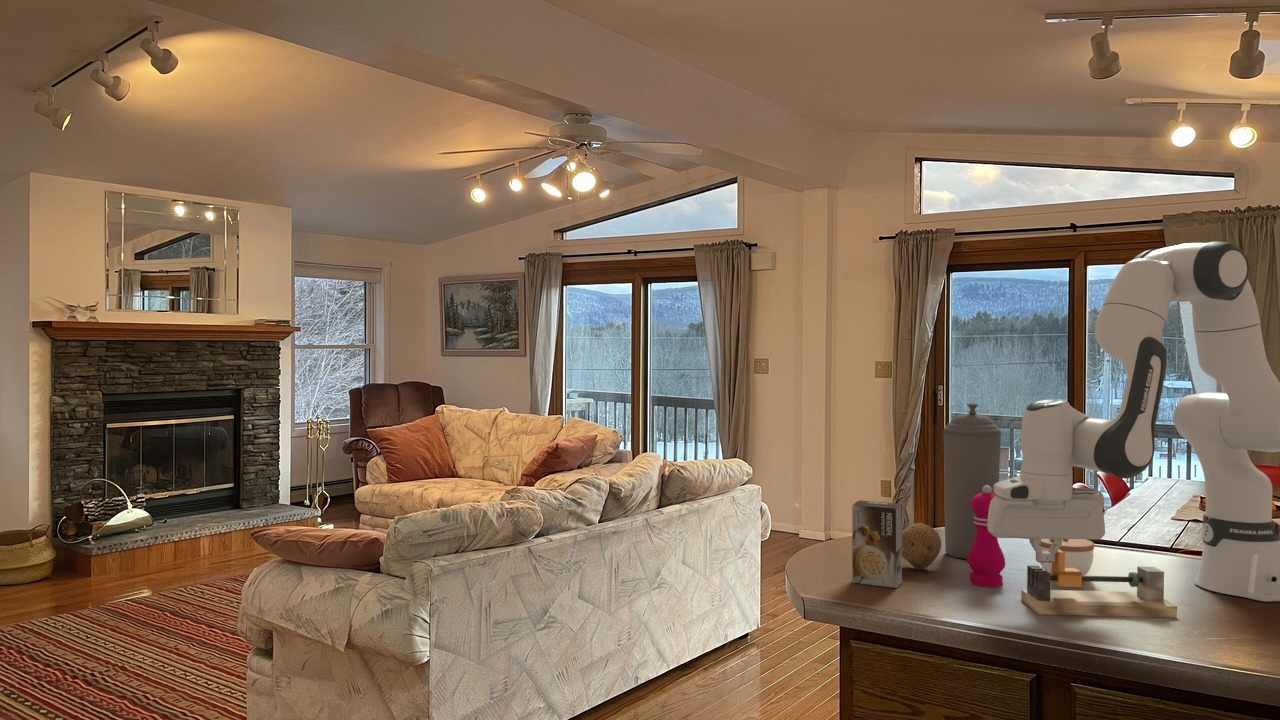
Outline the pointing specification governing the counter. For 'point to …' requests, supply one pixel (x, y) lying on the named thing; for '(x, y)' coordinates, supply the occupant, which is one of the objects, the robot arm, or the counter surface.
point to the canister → (967, 474)
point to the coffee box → (877, 543)
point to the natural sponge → (920, 545)
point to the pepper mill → (985, 545)
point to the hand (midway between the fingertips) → (1045, 562)
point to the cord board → (1100, 595)
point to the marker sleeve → (1065, 572)
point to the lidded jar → (1072, 554)
